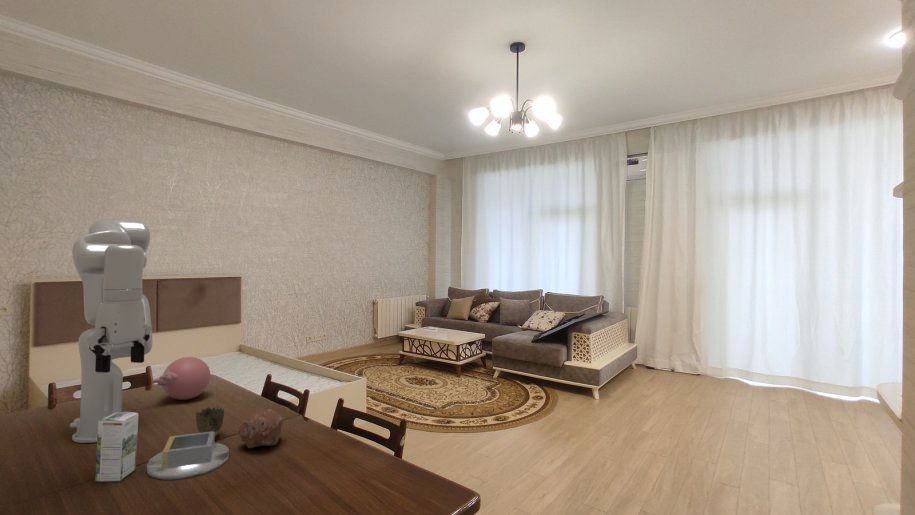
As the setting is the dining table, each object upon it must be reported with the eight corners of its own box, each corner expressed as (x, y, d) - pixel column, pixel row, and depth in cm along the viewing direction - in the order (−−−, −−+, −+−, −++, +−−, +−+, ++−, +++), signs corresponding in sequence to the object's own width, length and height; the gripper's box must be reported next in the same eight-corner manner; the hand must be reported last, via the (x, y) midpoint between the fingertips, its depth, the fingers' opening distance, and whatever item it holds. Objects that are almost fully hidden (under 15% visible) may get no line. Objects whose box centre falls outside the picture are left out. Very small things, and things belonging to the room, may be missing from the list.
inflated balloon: (137, 404, 155) (139, 361, 156) (193, 390, 173) (194, 351, 173) (163, 412, 149) (165, 366, 149) (218, 396, 166) (220, 356, 167)
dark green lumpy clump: (210, 444, 125) (211, 416, 125) (188, 441, 126) (189, 413, 126) (229, 434, 132) (230, 407, 132) (208, 431, 133) (209, 405, 133)
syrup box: (111, 470, 108) (113, 411, 108) (137, 470, 109) (138, 411, 109) (94, 482, 103) (96, 420, 103) (121, 481, 103) (123, 419, 103)
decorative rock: (268, 456, 118) (270, 419, 118) (228, 454, 119) (229, 417, 119) (290, 436, 132) (291, 403, 132) (253, 434, 132) (254, 401, 132)
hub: (138, 485, 102) (139, 461, 102) (155, 453, 118) (155, 433, 118) (226, 472, 109) (226, 449, 109) (230, 443, 125) (231, 424, 125)
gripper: (137, 293, 115) (135, 358, 115) (74, 298, 98) (71, 375, 98) (164, 294, 114) (162, 359, 114) (105, 299, 97) (102, 377, 97)
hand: (120, 366), depth 106 cm, fingers open, 9 cm apart
